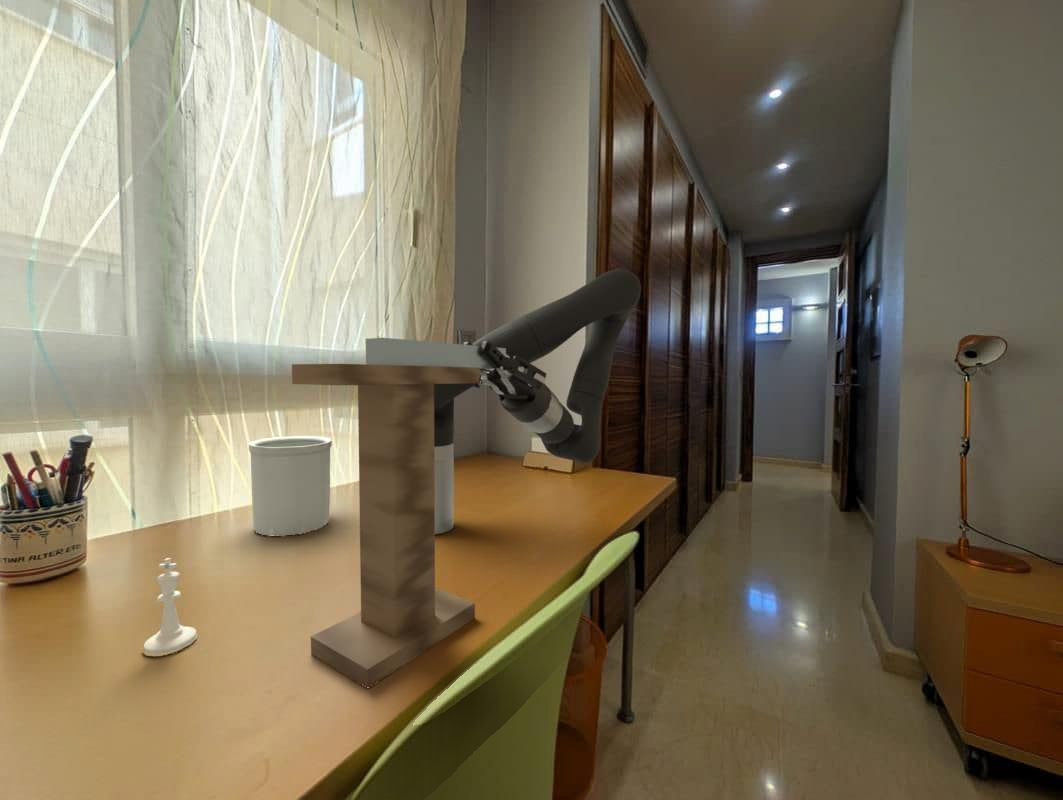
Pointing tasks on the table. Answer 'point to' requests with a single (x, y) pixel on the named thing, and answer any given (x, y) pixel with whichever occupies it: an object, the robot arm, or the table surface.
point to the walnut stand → (392, 521)
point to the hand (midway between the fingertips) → (473, 347)
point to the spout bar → (424, 353)
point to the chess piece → (169, 616)
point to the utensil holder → (290, 484)
